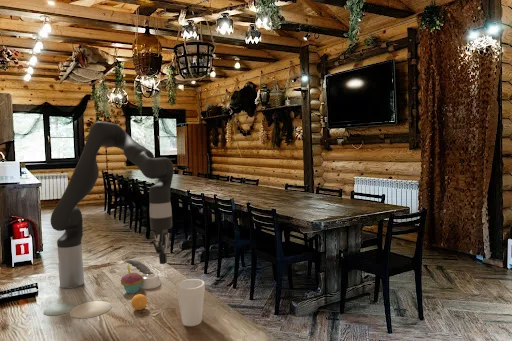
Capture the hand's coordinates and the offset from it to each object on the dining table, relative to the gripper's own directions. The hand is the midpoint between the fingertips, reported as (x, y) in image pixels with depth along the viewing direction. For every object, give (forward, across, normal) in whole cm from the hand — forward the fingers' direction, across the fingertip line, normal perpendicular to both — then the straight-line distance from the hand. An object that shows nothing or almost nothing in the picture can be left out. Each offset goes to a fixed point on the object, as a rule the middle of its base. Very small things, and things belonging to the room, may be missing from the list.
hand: (163, 263), depth 147 cm
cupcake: (+17, +18, +19) cm, 31 cm away
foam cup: (+17, -10, -12) cm, 23 cm away
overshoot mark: (+17, 0, +40) cm, 43 cm away
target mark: (+17, 0, +28) cm, 32 cm away
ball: (+14, 0, +10) cm, 17 cm away
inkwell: (+17, +25, +18) cm, 35 cm away
